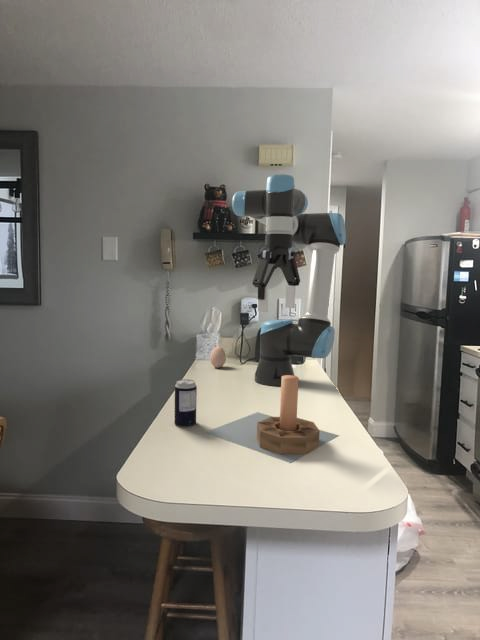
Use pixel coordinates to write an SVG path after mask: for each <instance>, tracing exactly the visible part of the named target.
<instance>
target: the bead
mask: <svg viewBox="0 0 480 640" xmlns="http://www.w3.org/2000/svg"><path fill="white" fill-rule="evenodd" d="M320 430H321V429H319V428H318V426H317V425H316V424H315V423H314V421H312V420H311V421H310V420H307V419H304V418H299V417H297V425H296V431H283V430H280V416H273V417H269V418H267V419H264V420H262V421H259V422H257V441H258V444H259V447H260V448H262V449H265V450H268V451H271V452H274V453H277V454H280V455H302V454H306V455H308V454H310V453H311V452H313V451H315V450H317V449H318V448H320V447H319V433H320ZM316 448H317V449H316ZM314 449H315V450H314ZM309 452H310V453H309ZM307 453H308V454H307Z"/></svg>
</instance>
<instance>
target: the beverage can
mask: <svg viewBox="0 0 480 640" xmlns="http://www.w3.org/2000/svg"><path fill="white" fill-rule="evenodd" d="M197 389H198V386H197V384H196V381H195V380H194V379H189V378H188V379H179V380H176V384H175V385H174V424H175V425H176V426H177V427H179V428H189V427H193V426H195V425H196V423H197V395H198V393H197V391H198V390H197Z"/></svg>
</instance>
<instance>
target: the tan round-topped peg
mask: <svg viewBox="0 0 480 640" xmlns="http://www.w3.org/2000/svg"><path fill="white" fill-rule="evenodd" d="M298 397H299V377H298V376H296V375H295V376H292V375H284V376H282V378H281V386H280V406H279V408H280V410H279V411H280V412H279V417H280V430H283V431H296V425H297V418H298V403H299V402H298V401H299V400H298V399H299V398H298Z"/></svg>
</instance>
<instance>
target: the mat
mask: <svg viewBox="0 0 480 640" xmlns="http://www.w3.org/2000/svg"><path fill="white" fill-rule="evenodd" d="M269 417H274V416H272V415H268V414H265V413H261V412H258V411H257V412H254V413H252V414H249V415H246V416H243V417H241V418H238V419H235V420H232V421H231V422H228V423H225V424H222V425H220V426H217V427H215V428H211V429H208V430H206V431H204V433H205V434H208V435H211V436H213V437H216V438H218V439H221V440H224V441H228V442H229V443H233V444H236V445H238V446H241V447H244V448H247V449H250V450H252V451H256V452H258V453H260V454H263V455H266V456H270V457H272V458H274V459H278V460H280V461H284V462H286V463H288V464H292V463H294V462H295V461H297V460H299V459H300V458H302V457H305V456H306V455H308V454H310V453H311V452H309V453H307V454H302V455H280V454H277V453H274V452H271V451H268V450H265V449H262V448H260V447H259V444H258V441H257V422H259V421H262V420H264V419H267V418H269ZM319 430H320V433H319V447H318V448H320V447H322V446H324V445H325V444H327V443H329V442H331V441H333V440H334V439H336V438H337V437H340V434H335V433H331V432H328V431H325V430H321V429H319ZM318 448H316V449H314V450H313V451H315V450H317V449H318Z"/></svg>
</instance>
